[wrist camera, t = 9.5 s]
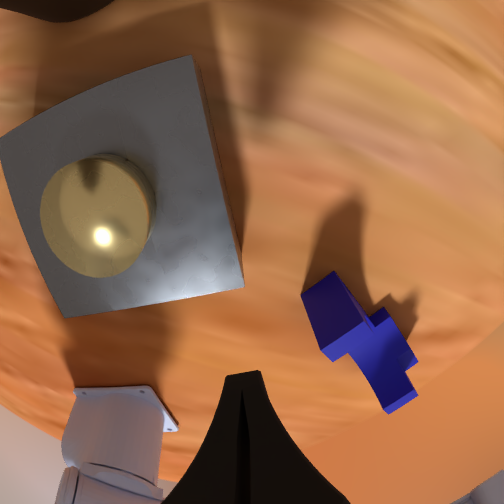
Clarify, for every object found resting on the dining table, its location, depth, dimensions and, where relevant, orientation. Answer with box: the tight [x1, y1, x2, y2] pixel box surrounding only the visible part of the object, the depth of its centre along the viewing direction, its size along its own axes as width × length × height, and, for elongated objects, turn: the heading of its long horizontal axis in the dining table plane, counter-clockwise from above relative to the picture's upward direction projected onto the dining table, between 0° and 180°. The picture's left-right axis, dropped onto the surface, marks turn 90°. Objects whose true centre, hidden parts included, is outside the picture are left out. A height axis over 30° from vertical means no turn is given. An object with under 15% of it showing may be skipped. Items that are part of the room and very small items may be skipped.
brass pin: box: [40, 154, 156, 278], centre depth 14 cm, size 6×6×6 cm
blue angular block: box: [301, 271, 418, 414], centre depth 21 cm, size 12×4×6 cm, turn 40°
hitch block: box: [0, 55, 245, 318], centre depth 16 cm, size 12×12×4 cm
